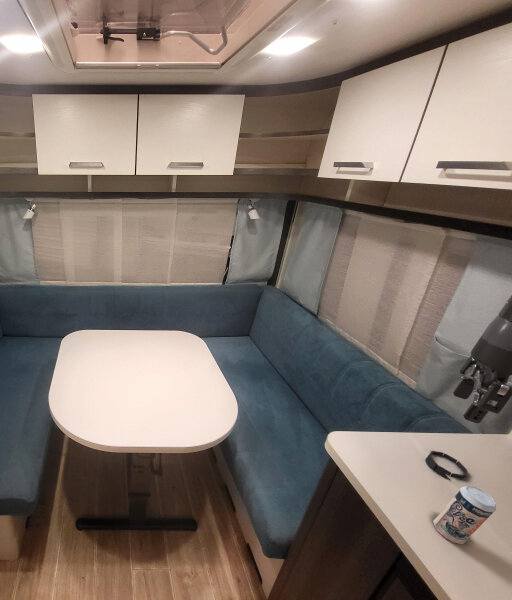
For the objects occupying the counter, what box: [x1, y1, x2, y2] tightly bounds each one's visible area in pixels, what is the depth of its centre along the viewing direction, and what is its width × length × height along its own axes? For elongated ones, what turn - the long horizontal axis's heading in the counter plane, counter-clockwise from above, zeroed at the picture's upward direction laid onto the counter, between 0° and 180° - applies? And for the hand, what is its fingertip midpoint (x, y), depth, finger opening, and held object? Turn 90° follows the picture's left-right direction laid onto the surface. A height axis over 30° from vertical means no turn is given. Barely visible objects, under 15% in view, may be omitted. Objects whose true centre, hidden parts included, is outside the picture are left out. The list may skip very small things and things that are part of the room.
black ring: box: [425, 450, 469, 481], centre depth 77 cm, size 7×7×2 cm
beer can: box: [432, 485, 497, 545], centre depth 61 cm, size 5×5×12 cm
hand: (464, 407), depth 64 cm, fingers open, 8 cm apart
